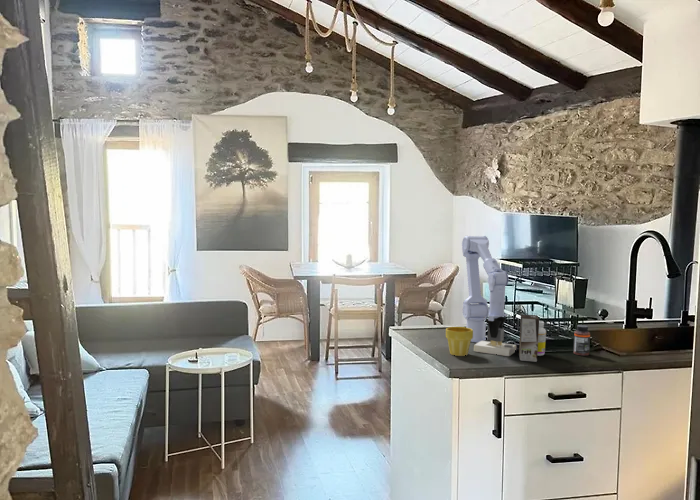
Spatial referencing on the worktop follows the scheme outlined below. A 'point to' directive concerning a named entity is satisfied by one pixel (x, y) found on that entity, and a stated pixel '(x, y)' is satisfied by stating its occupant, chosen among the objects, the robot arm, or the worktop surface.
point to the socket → (494, 348)
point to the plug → (499, 337)
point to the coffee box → (528, 338)
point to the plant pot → (459, 340)
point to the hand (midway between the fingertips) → (495, 336)
